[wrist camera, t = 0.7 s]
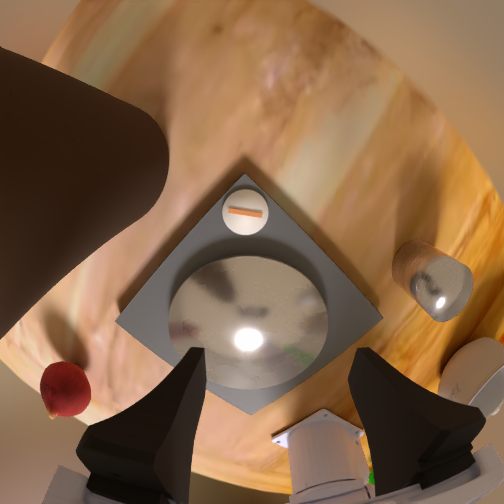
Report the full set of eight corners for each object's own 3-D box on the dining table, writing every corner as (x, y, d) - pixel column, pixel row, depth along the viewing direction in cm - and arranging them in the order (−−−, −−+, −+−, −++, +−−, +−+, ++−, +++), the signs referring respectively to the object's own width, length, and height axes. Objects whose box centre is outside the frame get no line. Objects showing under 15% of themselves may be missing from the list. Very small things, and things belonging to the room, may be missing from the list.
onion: (55, 363, 25) (23, 406, 17) (65, 338, 23) (27, 385, 16) (93, 393, 26) (67, 440, 18) (108, 371, 25) (78, 425, 17)
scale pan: (354, 323, 21) (357, 328, 20) (250, 401, 23) (250, 406, 23) (245, 217, 18) (245, 219, 17) (142, 326, 21) (139, 331, 20)
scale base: (377, 310, 22) (385, 320, 21) (250, 406, 26) (250, 418, 24) (245, 172, 19) (244, 173, 17) (120, 314, 22) (112, 324, 21)
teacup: (421, 365, 25) (453, 413, 17) (488, 308, 23) (529, 342, 15) (437, 411, 28) (459, 448, 21) (492, 366, 26) (518, 398, 19)
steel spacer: (438, 262, 21) (479, 290, 15) (406, 296, 22) (441, 332, 16) (418, 228, 20) (462, 251, 14) (382, 265, 21) (419, 298, 15)
